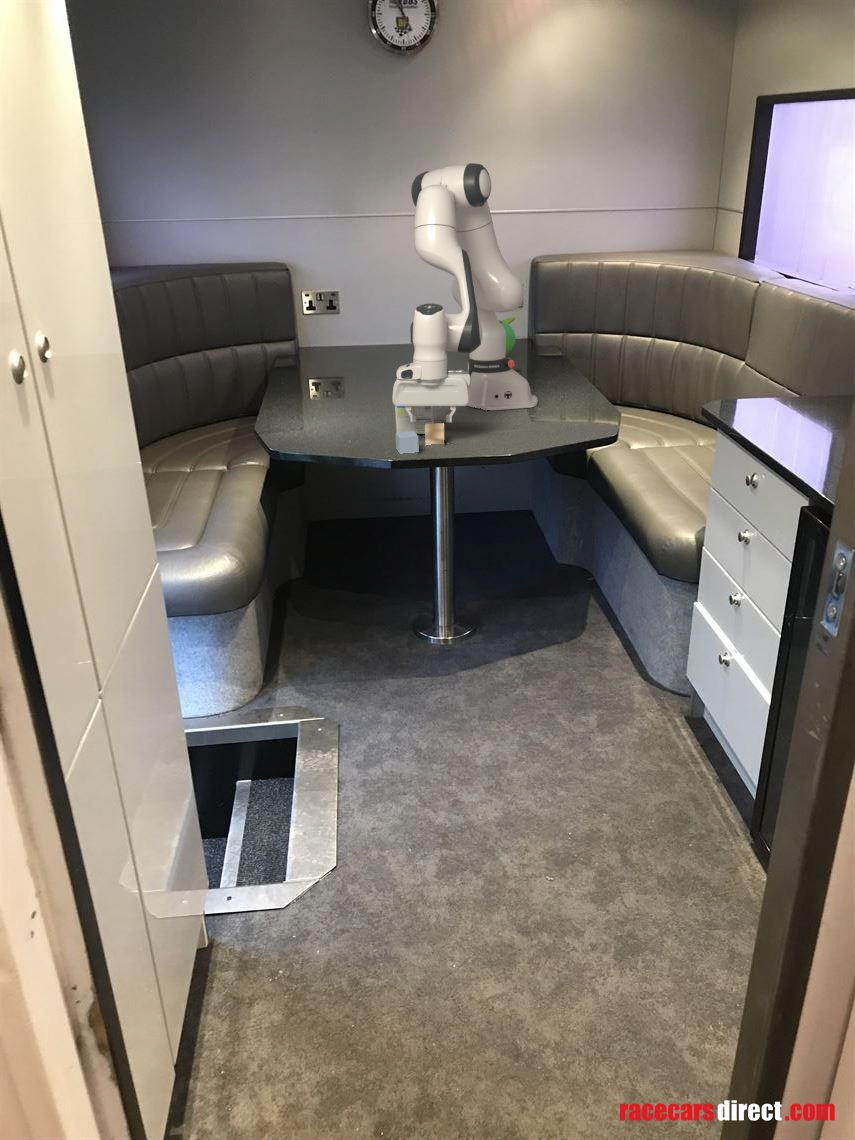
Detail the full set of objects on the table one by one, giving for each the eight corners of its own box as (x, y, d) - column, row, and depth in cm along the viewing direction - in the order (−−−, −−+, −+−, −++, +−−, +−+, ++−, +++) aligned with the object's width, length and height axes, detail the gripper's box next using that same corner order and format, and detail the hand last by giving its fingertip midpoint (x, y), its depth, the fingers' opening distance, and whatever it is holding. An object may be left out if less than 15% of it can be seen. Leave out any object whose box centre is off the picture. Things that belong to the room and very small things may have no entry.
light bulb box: (433, 428, 250) (432, 390, 245) (434, 435, 244) (433, 396, 239) (396, 429, 250) (394, 392, 245) (396, 436, 244) (394, 398, 239)
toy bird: (463, 361, 329) (462, 320, 323) (474, 351, 344) (473, 313, 338) (510, 362, 324) (510, 321, 318) (519, 353, 339) (520, 314, 333)
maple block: (444, 441, 239) (444, 423, 237) (444, 446, 234) (443, 428, 232) (426, 441, 239) (425, 423, 237) (425, 446, 235) (424, 428, 232)
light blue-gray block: (414, 449, 233) (414, 431, 231) (418, 454, 229) (418, 436, 226) (396, 451, 232) (395, 432, 230) (400, 456, 228) (399, 438, 226)
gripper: (470, 367, 230) (470, 418, 236) (392, 367, 232) (394, 419, 237) (470, 372, 225) (470, 425, 230) (390, 372, 226) (392, 425, 232)
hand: (431, 422), depth 234 cm, fingers open, 8 cm apart
